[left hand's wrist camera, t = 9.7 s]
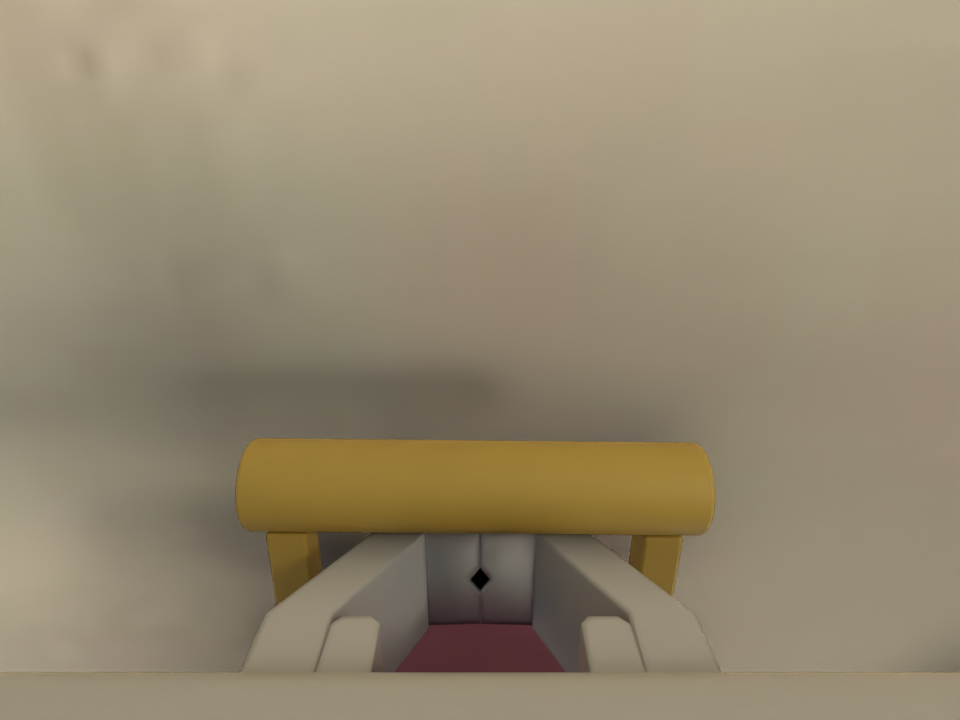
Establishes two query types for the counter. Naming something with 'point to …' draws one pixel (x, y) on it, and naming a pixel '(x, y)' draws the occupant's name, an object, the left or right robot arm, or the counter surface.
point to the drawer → (473, 512)
